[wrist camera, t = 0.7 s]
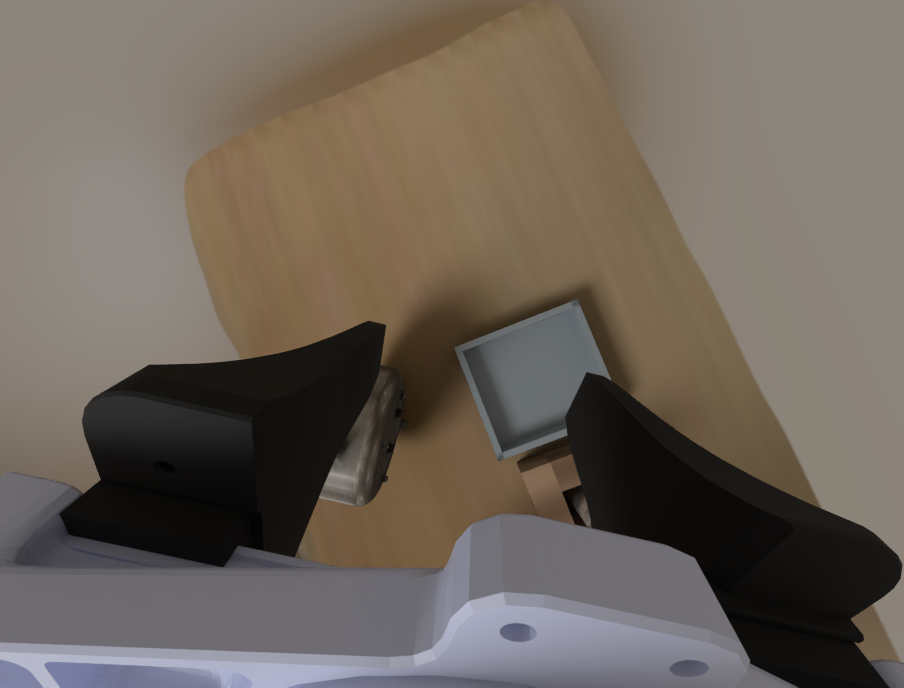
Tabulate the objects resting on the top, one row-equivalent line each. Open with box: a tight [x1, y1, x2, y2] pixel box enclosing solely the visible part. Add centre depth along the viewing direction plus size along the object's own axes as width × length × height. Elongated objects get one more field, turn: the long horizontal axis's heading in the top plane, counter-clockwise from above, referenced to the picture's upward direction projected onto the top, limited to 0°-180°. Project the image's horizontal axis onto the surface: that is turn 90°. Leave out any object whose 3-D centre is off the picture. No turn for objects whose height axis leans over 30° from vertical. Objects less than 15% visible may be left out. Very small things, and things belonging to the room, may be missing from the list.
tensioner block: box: [517, 444, 587, 527], centre depth 31 cm, size 9×9×3 cm
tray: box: [454, 299, 611, 461], centre depth 32 cm, size 11×12×2 cm
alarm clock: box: [319, 365, 407, 507], centre depth 26 cm, size 11×5×16 cm, turn 168°
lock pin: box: [566, 485, 592, 528], centre depth 28 cm, size 3×3×9 cm
